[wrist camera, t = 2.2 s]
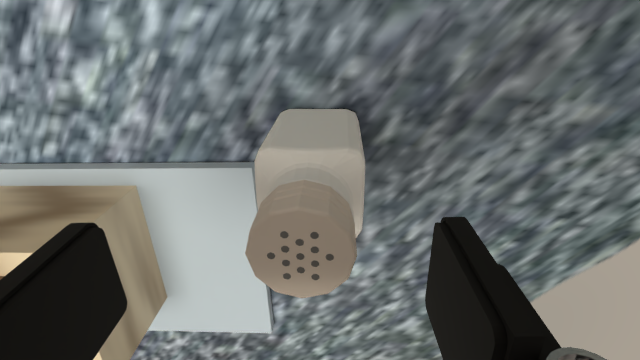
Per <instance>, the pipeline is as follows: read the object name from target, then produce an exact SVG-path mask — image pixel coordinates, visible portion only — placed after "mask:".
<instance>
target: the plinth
mask: <svg viewBox="0 0 640 360" xmlns="http://www.w3.org/2000/svg"><path fill="white" fill-rule="evenodd" d="M70 223H95V224H97V225H98V227H99V228H102V229H103V230H104V232H105V235H106V238H107V241H108V244H109V247H110V250H111V253H112V256H113V259H114V262H115V265H116V268H117V271H118V274H119V277H120V280H121V283H122V286H123V289H124V292H125V295H126V298H127V309H126V311H125V313H124V315H123V316H122V318H121V319H120V321H119V322H118V324H117V325H116V327H115V328H114V330H113V331H112V333H111V334H110V336H109V337H108V339H107V340H106V341H105V343H104V344H103V346H102V347H101V349H100V350H99V352H98V353H97V355H96V356H95V358H94V359H93V360H130V358H131V357H132V355H133V353H134V352H135V350H136V348H137V347H138V345H139V343H140V342H141V340H142V338H143V337H144V335H145V334H146V332H147V330H148V329H149V327H150V325H151V324H152V322H153V320H154V319H155V317H156V315H157V314H158V312H159V310H160V309H161V307H162V305H163V304H164V302H165V300H166V299H167V294H166V291H165V287H164V283H163V280H162V276H161V273H160V269H159V265H158V262H157V258H156V255H155V251H154V248H153V244H152V240H151V237H150V233H149V230H148V226H147V222H146V219H145V215H144V212H143V208H142V205H141V201H140V197H139V194H138V190H137V187H136V185H135V186H0V280H1V279H2V278H3V277H4V276H6V275H7V274H8V273H9V272H11V271H12V270H13V269H14V268H15V267H17V266H18V265H19V264H20V263H22V262H23V261H24V260H25V259H27V258H28V257H29V256H30V255H31V254H33V253H34V252H35V251H36V250H38V249H39V248H40V247H41V246H42V245H44V244H45V243H46V242H47V241H49V240H50V239H51V238H52V237H54V236H55V235H56V234H57V233H58V232H60V231H61V230H62V229H63V228H65V227H66V226H67V225H69V224H70Z"/></svg>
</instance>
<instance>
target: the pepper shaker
mask: <svg viewBox="0 0 640 360" xmlns="http://www.w3.org/2000/svg"><path fill="white" fill-rule="evenodd" d="M254 164H255V185H256V199H257V207H258V212H257V214H256V217H255V219H254V221H253V224H252V226H251V229H250V232H249V237H248V242H247V247H246V252H245V254H246V257H247V259H248V261H249V263H250V266H251V268H252V270H253V272H254V275H255V277H257V278H258V279H259V280H261V281H262V282H263V283H265V284H266V285H267V286H269V287H270V288H271V289H273V290H274V291H275V292H278V293H282V294H287V295H291V296H295V297H299V298H306V297H312V296H317V295H323V294H328V293H330V292H331V291H332V290H334V289H335V288H336V287H338V286H339V285H340V284H342V283H343V282H345V281H346V280H347V279H348V278H349V276H350V273H351V271H352V268H353V265H354V263H355V260H356V257H357V249H356V237H357V236H358V234H359V233H360V232H361V230H362V223H363V208H364V187H365V158H364V152H363V146H362V139H361V133H360V127H359V121H358V118H357V116H356V113H355V112H352V111H350V110H348V109H288V110H285V111H283V112H281V113H280V115H279V116H278V118H277V120H276V121H275V123H274V125H273V126H272V128H271V130H270V132H269V133H268V135H267V137H266V138H265V140H264V142H263V143H262V145H261V147H260V148H259V151H258V153H257V156H256V159H255V161H254Z"/></svg>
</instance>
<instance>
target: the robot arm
mask: <svg viewBox="0 0 640 360" xmlns="http://www.w3.org/2000/svg"><path fill="white" fill-rule="evenodd" d="M425 302H426V309H427V313H428V316H429V319H430V322H431V325H432V328H433V331H434V334H435V336H436V339H437V342H438V345H439V348H440V351H441V354H442V357H443V360H607V359H604V358H603V357H601V356H599V355H597V354H595V353H592V352H589V351H586V350H583V349H578V348H571V347H567V348H561V347H560V345H559V344H558V342H557V341H556V339H555V338H554V337H553V335H552V334H551V333H550V331H549V330H548V328H547V327H546V325H545V324H544V322H543V321H542V320H541V318H540V317H539V315H538V314H537V313H536V311H535V309H534V308H533V307H532V305H531V304H530V302H529V301H528V299H527V298H526V297H525V295H524V294H523V292H522V291H521V289H520V288H519V287H518V285H517V284H516V282H515V281H514V279H513V278H512V277H511V275H510V274H509V272H508V271H507V270H506V268H505V267H504V266H502V265H500V264H497V263H496V261H495V260H494V259H493V257H492V256H491V254H490V253H489V251H488V250H487V248H486V247H485V245H484V244H483V242H482V241H481V239H480V238H479V236H478V235H477V233H476V232H475V230H474V229H473V228H472V226H471V225H470V223H469V222H468V220H467V219H466V218H465V217H443V218H442V220H441V223H435V226H434V233H433V241H432V249H431V257H430V265H429V273H428V281H427V289H426V297H425ZM126 309H127V298H126V295H125V292H124V289H123V286H122V283H121V280H120V277H119V274H118V271H117V268H116V265H115V262H114V259H113V256H112V253H111V250H110V247H109V244H108V241H107V238H106V235H105V232H104V230H103V229H102V228H99V227H98V225H97V224H95V223H70V224H69V225H67V226H66V227H65V228H63V229H62V230H61V231H60V232H58V233H57V234H56V235H55V236H54V237H52V238H51V239H50V240H49V241H47V242H46V243H45V244H44V245H42V246H41V247H40V248H39V249H38V250H36V251H35V252H34V253H33V254H31V255H30V256H29V257H28V258H27V259H25V260H24V261H23V262H22V263H20V264H19V265H18V266H17V267H15V268H14V269H13V270H12V271H11V272H9V273H8V274H7V275H6V276H4V277H3V278H2V279H1V280H0V360H93V359H94V358H95V356H96V355H97V353H98V352H99V350H100V349H101V347H102V346H103V344H104V343H105V341H106V340H107V339H108V337H109V336H110V334H111V333H112V331H113V330H114V328H115V327H116V325H117V324H118V322H119V321H120V319H121V318H122V316H123V315H124V313H125V311H126Z"/></svg>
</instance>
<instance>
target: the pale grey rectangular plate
mask: <svg viewBox="0 0 640 360" xmlns="http://www.w3.org/2000/svg"><path fill="white" fill-rule="evenodd" d="M135 185H136V187H137V190H138V194H139V197H140V201H141V205H142V208H143V212H144V215H145V219H146V222H147V226H148V230H149V233H150V237H151V240H152V244H153V248H154V251H155V255H156V258H157V262H158V265H159V269H160V273H161V276H162V280H163V283H164V287H165V291H166V294H167V299H166V300H165V302H164V304H163V305H162V307H161V309H160V310H159V312H158V314H157V315H156V317H155V319H154V320H153V322H152V324H151V325H150V327H149V329H148V330H152V331H196V332H240V333H272V330H273V325H274V321H273V312H272V304H271V295H270V287H269V286H267V285H266V284H265V283H263V282H262V281H261V280H259V279H258V278H257V277H255V275H254V272H253V270H252V268H251V266H250V263H249V261H248V259H247V257H246V254H245V252H246V247H247V242H248V237H249V232H250V229H251V226H252V224H253V221H254V219H255V217H256V214H257V212H258V207H257V199H256V185H255V164H254V162H197V163H50V164H0V186H135Z"/></svg>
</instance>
